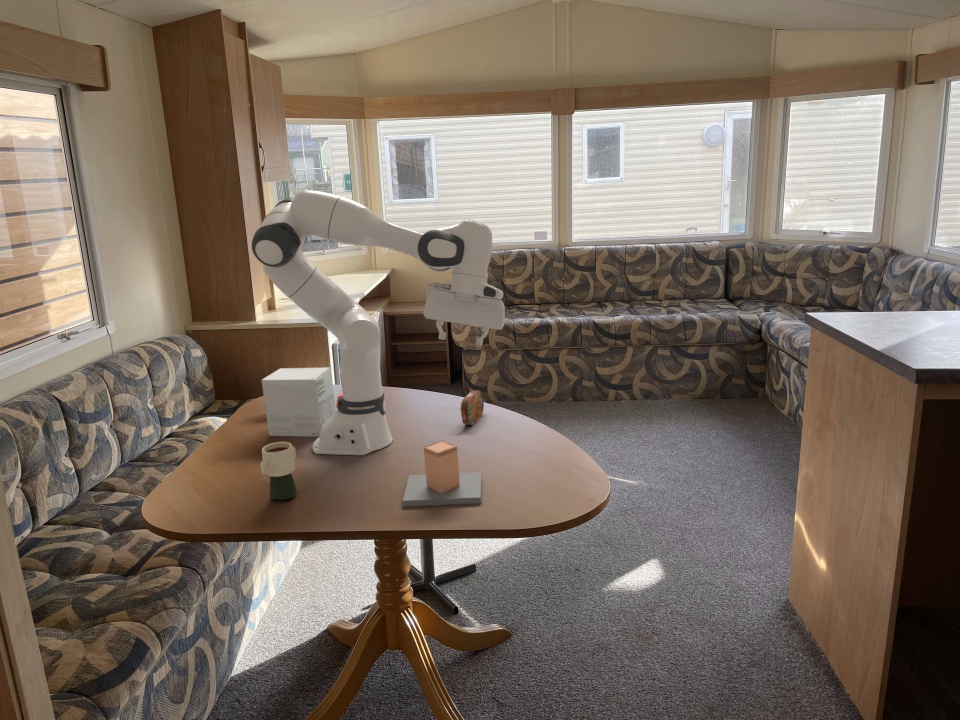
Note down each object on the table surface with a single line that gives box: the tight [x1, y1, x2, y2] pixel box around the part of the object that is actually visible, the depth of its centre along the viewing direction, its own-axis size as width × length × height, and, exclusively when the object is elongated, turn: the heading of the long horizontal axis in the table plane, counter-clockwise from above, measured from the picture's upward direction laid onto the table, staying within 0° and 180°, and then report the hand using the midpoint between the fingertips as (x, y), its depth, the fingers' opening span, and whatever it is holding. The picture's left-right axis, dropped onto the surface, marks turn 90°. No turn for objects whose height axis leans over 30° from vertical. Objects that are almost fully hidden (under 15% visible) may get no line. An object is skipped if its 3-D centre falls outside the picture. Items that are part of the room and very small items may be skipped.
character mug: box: [260, 441, 298, 501], centre depth 169 cm, size 11×7×13 cm, turn 150°
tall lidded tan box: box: [423, 440, 460, 493], centre depth 167 cm, size 6×6×10 cm
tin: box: [460, 390, 484, 426], centre depth 215 cm, size 15×3×8 cm, turn 162°
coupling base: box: [402, 471, 482, 508], centre depth 168 cm, size 18×14×9 cm
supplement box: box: [261, 366, 337, 438], centre depth 214 cm, size 17×13×18 cm
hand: (460, 342), depth 176 cm, fingers open, 8 cm apart
